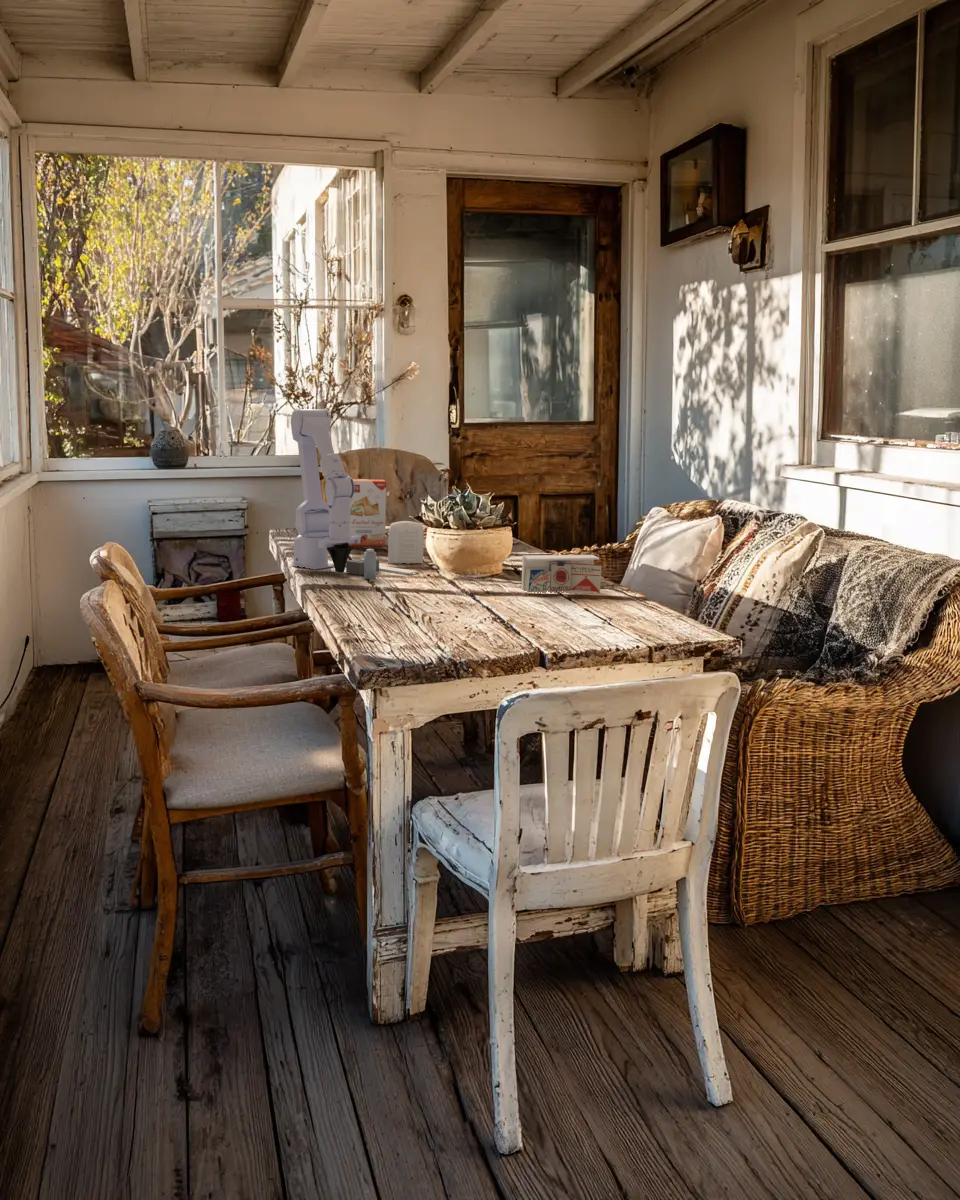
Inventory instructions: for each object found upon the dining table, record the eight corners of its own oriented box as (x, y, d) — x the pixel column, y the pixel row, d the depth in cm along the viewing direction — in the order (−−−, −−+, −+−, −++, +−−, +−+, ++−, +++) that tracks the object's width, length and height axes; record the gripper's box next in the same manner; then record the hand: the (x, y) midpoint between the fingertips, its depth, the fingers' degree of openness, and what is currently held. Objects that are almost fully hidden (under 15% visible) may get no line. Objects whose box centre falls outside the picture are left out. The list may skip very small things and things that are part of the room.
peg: (361, 578, 315) (361, 549, 313) (369, 576, 317) (369, 548, 316) (370, 579, 313) (370, 550, 312) (378, 578, 316) (378, 549, 314)
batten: (365, 568, 331) (365, 566, 331) (375, 566, 334) (375, 564, 334) (409, 575, 321) (409, 573, 321) (418, 573, 324) (418, 571, 324)
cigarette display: (527, 595, 296) (528, 558, 294) (521, 591, 301) (522, 555, 300) (602, 594, 301) (604, 557, 299) (595, 590, 306) (597, 554, 304)
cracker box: (342, 546, 372) (342, 480, 368) (340, 543, 378) (340, 478, 374) (386, 546, 375) (386, 480, 371) (383, 543, 380) (384, 478, 377)
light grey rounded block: (422, 562, 344) (423, 520, 342) (424, 564, 340) (424, 522, 338) (387, 562, 343) (387, 520, 340) (388, 564, 339) (388, 522, 336)
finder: (346, 573, 324) (346, 560, 323) (365, 570, 330) (365, 557, 329) (359, 575, 321) (359, 562, 320) (379, 572, 327) (379, 559, 326)
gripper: (331, 525, 307) (331, 576, 310) (368, 521, 319) (368, 570, 321) (312, 523, 311) (312, 573, 314) (349, 518, 323) (349, 567, 325)
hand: (339, 572), depth 318 cm, fingers closed
